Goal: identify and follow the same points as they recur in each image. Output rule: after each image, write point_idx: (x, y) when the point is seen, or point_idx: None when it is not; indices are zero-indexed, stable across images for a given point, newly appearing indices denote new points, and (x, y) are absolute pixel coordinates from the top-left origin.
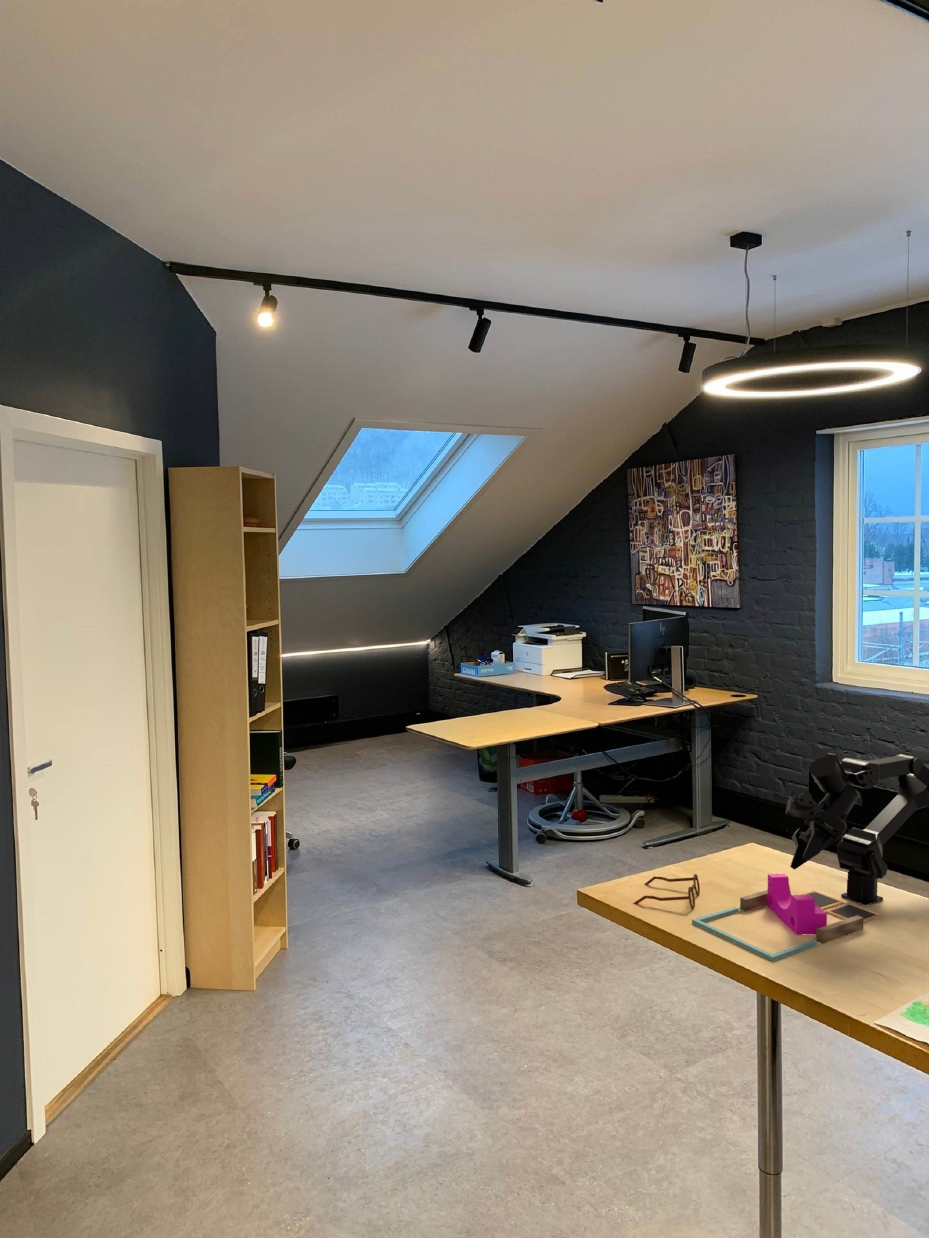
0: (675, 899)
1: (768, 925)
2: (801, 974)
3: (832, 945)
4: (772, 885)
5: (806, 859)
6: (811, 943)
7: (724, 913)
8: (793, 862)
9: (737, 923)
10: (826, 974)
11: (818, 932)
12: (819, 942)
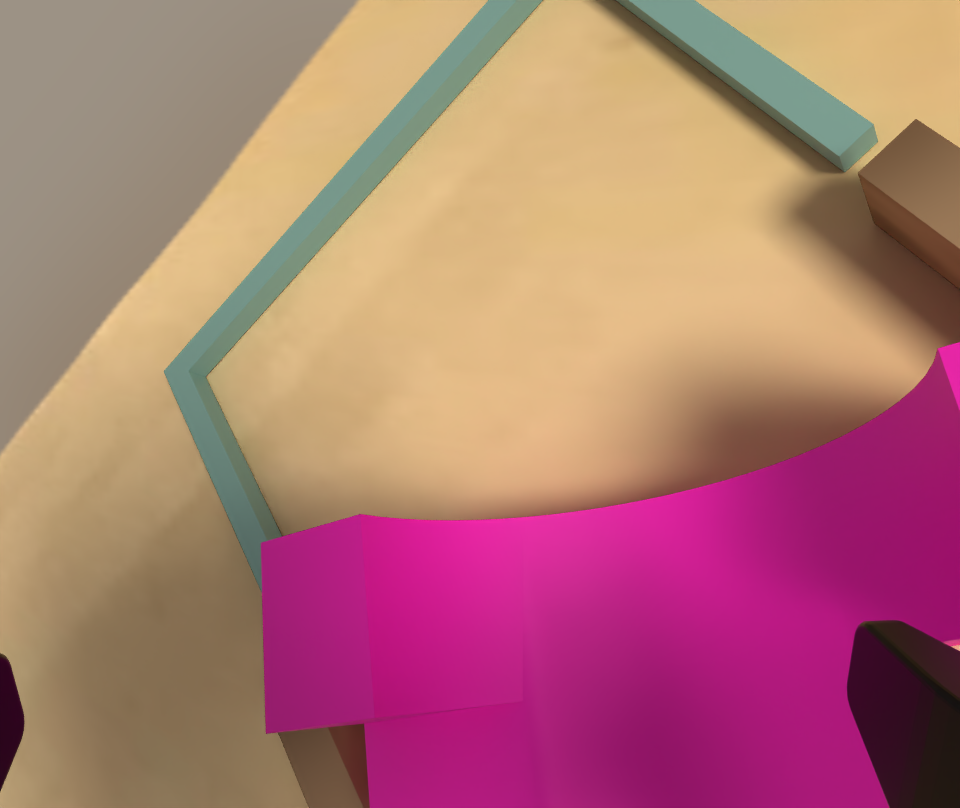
0: None
1: (593, 394)
2: (86, 490)
3: None
4: (918, 392)
5: (10, 708)
6: None
7: (722, 71)
8: (910, 692)
9: (605, 185)
10: (74, 607)
11: None
12: None
